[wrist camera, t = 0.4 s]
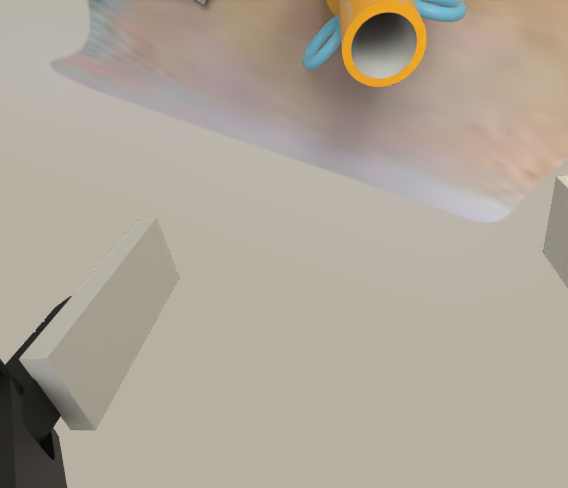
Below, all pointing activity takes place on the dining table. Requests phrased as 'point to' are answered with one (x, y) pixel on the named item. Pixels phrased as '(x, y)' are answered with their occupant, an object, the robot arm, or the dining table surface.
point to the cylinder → (379, 36)
